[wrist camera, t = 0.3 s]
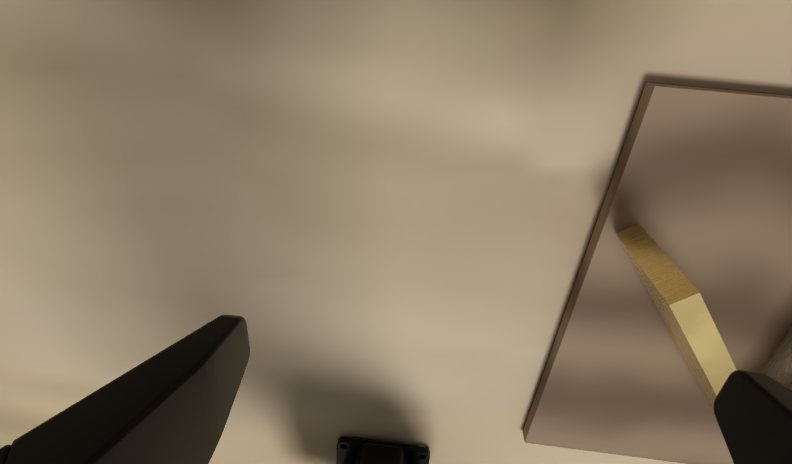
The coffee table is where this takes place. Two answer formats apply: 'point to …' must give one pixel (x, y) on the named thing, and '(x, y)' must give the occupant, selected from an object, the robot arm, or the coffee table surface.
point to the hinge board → (694, 256)
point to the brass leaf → (680, 311)
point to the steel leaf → (781, 362)
